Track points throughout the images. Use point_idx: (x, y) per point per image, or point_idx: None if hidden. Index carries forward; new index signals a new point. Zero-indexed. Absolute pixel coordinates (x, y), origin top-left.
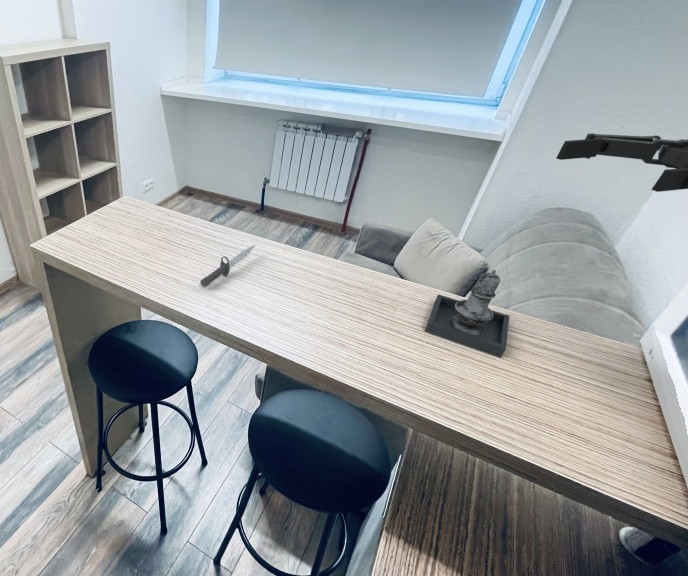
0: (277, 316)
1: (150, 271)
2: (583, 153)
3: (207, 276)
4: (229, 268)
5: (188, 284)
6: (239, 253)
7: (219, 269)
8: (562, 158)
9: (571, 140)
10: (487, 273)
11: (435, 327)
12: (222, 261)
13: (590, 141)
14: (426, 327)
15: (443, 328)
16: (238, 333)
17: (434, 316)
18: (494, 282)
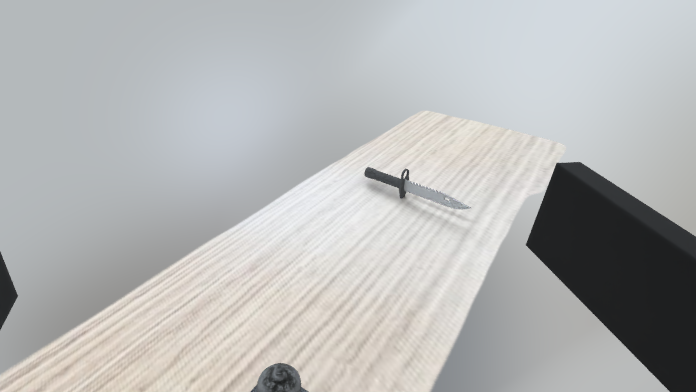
0: (317, 225)
1: (397, 154)
2: (638, 323)
3: (376, 170)
4: (400, 185)
5: None
6: (433, 189)
7: (393, 177)
8: (533, 245)
9: (614, 184)
10: (287, 369)
11: None
12: (406, 176)
13: (686, 260)
14: None
15: (253, 390)
16: (285, 195)
17: None
18: (258, 380)
